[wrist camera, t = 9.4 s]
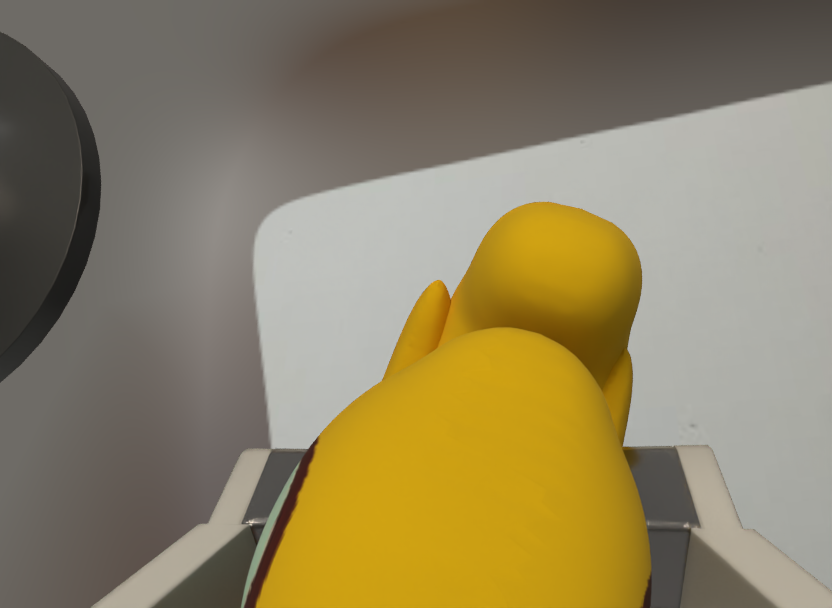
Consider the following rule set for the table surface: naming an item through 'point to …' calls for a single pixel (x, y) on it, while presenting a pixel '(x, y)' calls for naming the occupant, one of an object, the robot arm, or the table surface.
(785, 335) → the table surface
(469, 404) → the duckling
